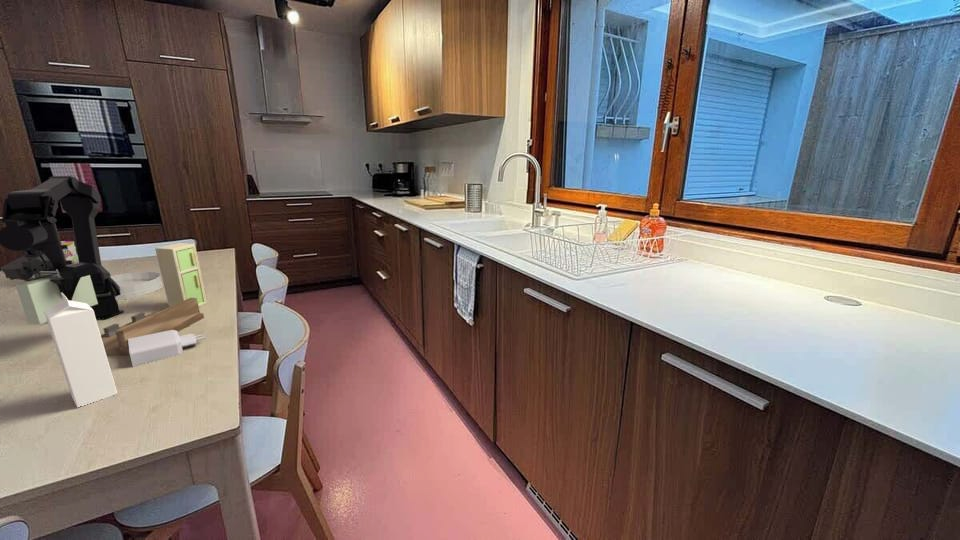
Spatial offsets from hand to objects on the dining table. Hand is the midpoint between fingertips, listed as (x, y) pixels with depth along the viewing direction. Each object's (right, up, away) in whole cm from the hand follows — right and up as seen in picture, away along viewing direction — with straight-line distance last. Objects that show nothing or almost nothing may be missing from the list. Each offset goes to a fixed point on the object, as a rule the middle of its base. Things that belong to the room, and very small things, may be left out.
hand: (62, 302), depth 100 cm
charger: (+29, -13, -1) cm, 32 cm away
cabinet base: (+13, -10, +8) cm, 18 cm away
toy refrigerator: (+12, -4, +28) cm, 31 cm away
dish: (-23, 0, +43) cm, 49 cm away
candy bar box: (-55, +3, +52) cm, 76 cm away
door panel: (0, -3, +1) cm, 3 cm away
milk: (+29, -18, -20) cm, 39 cm away
